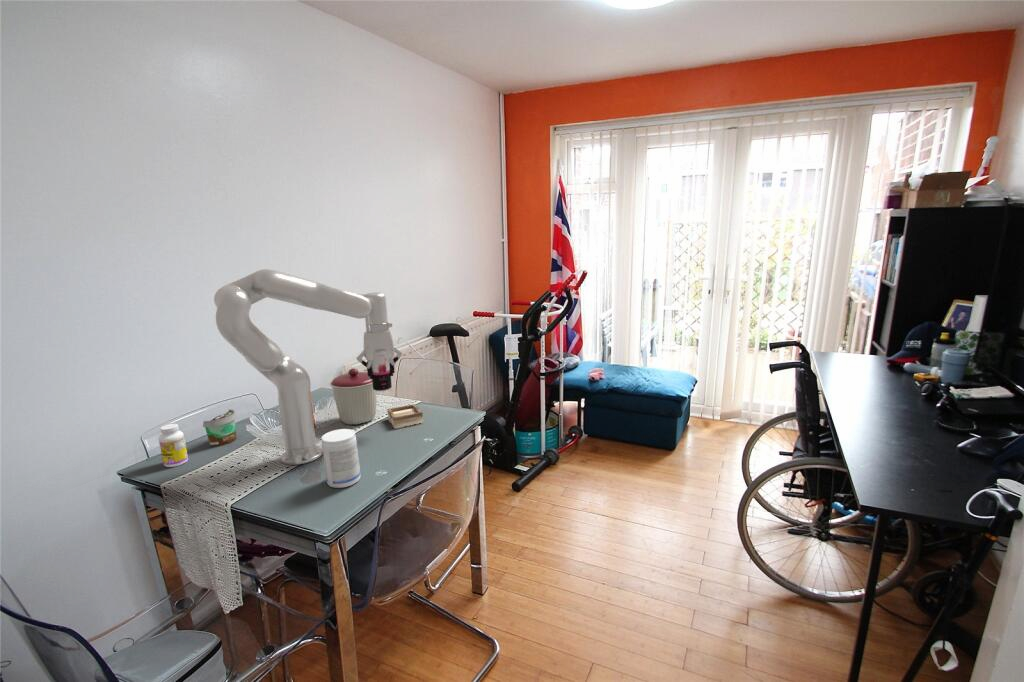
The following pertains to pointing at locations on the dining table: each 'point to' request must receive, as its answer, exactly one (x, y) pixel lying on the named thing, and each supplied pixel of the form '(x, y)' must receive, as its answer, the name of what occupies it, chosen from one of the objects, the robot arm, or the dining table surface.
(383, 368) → the beverage can
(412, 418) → the wooden tray
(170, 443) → the supplement bottle
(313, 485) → the dining table surface
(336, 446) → the supplement tub
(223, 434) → the food container
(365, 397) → the canister
